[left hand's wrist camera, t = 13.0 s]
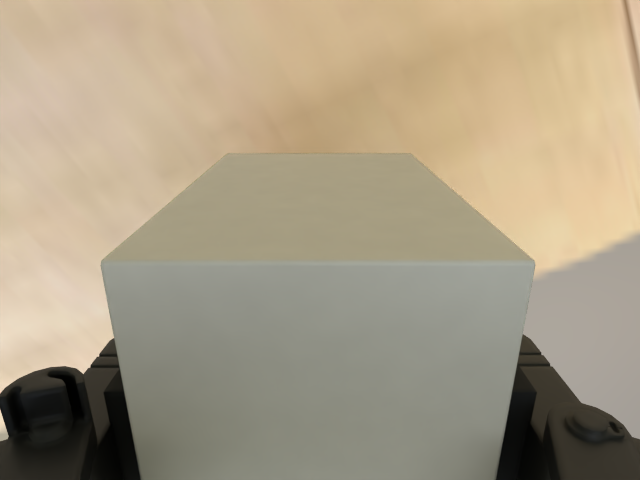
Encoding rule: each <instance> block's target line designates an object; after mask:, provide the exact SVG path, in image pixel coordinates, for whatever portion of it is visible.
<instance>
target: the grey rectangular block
mask: <svg viewBox="0 0 640 480" xmlns="http://www.w3.org/2000/svg"><path fill="white" fill-rule="evenodd" d="M534 269H535V262H534V260H533V259H532V258H531V257H530V256H529V255H527V254H526V253H525V252H524V251H523V250H522V249H520V248H519V247H518V246H517V245H516V244H515V243H514V242H512V241H511V240H510V239H509V238H508V237H507V236H505V235H504V234H503V233H502V232H501V231H500V230H499V229H497V228H496V227H495V226H494V225H493V224H492V223H490V222H489V221H488V220H487V219H486V218H485V217H484V216H482V215H481V214H480V213H479V212H478V211H477V210H475V209H474V208H473V207H472V206H471V205H470V204H469V203H467V202H466V201H465V200H464V199H463V198H462V197H460V196H459V195H458V194H457V193H456V192H455V191H454V190H452V189H451V188H450V187H449V186H448V185H447V184H445V183H444V182H443V181H442V180H441V179H440V178H439V177H437V176H436V175H435V174H434V173H433V172H432V171H430V170H429V169H428V168H427V167H426V166H425V165H424V164H422V163H421V162H420V161H419V160H418V159H417V158H415V157H414V156H413V155H412V154H410V153H228V154H226V155H225V156H224V157H223V158H222V159H220V160H219V161H218V162H217V163H216V164H214V165H213V166H212V167H211V168H210V169H209V170H207V171H206V172H205V173H204V174H203V175H202V176H200V177H199V178H198V179H197V180H196V181H194V182H193V183H192V184H191V185H190V186H189V187H187V188H186V189H185V190H184V191H183V192H182V193H180V194H179V195H178V196H177V197H176V198H174V199H173V200H172V201H171V202H170V203H169V204H167V205H166V206H165V207H164V208H163V209H162V210H160V211H159V212H158V213H157V214H156V215H155V216H153V217H152V218H151V219H150V220H149V221H147V222H146V223H145V224H144V225H143V226H142V227H140V228H139V229H138V230H137V231H136V232H135V233H133V234H132V235H131V236H130V237H129V238H127V239H126V240H125V241H124V242H123V243H122V244H120V245H119V246H118V247H117V248H116V249H115V250H113V251H112V252H111V253H110V254H109V255H107V256H106V257H105V258H104V259H103V260H102V261H101V270H102V275H103V281H104V286H105V291H106V297H107V302H108V307H109V313H110V318H111V323H112V329H113V334H114V339H115V345H116V350H117V355H118V361H119V366H120V371H121V377H122V382H123V387H124V393H125V398H126V403H127V409H128V414H129V419H130V425H131V430H132V435H133V441H134V446H135V451H136V457H137V462H138V467H139V473H140V478H141V480H496V476H497V471H498V465H499V460H500V454H501V449H502V443H503V438H504V433H505V427H506V422H507V416H508V411H509V405H510V400H511V394H512V389H513V384H514V378H515V373H516V367H517V362H518V356H519V351H520V346H521V340H522V335H523V329H524V324H525V318H526V313H527V307H528V302H529V296H530V291H531V286H532V280H533V275H534Z"/></svg>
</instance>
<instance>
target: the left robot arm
mask: <svg viewBox="0 0 640 480" xmlns="http://www.w3.org/2000/svg"><path fill="white" fill-rule="evenodd" d="M0 410H1V413H2V416H3V419H4V422H5V426H6V429H7V432H8V435H9V437H8V439H7V440H4V441H0V480H141V478H140V473H139V467H138V462H137V457H136V451H135V446H134V441H133V435H132V430H131V425H130V419H129V414H128V409H127V403H126V398H125V393H124V387H123V382H122V377H121V371H120V366H119V361H118V355H117V350H116V345H115V339H114V338H113V339H112V340H110V341H109V343H108V344H107V345H106V346H105V348H104V349H103V350H102V352H101V353H100V354H99V357H97V358H96V359H95V360H94V362H93V363H92V364H91V367H90V368H88V369H87V371H86V372H85V373H84V374H82V373H81V372H80V371H79V370H77V369H76V368H71V367H66V366H63V367H50V368H46V369H42V370H38V371H35V372H32V373H30V374H28V375H25V376H23V377H21V378H19V379H17V380H16V381H14V382H13V383H11V384H10V385H9V386H7V387H6V388H5V389H4V390H3V391H2V392H1V394H0ZM496 480H640V439H637V438H633V437H631V435H630V434H629V432H628V431H627V429H626V428H625V426H624V425H623V424H622V423H620V422H619V421H618V420H616V419H615V418H614V417H613V416H612V415H610V414H608V413H606V412H604V411H602V410H600V409H598V408H596V407H593V406H589V405H586V404H582V403H581V402H580V401H579V400H578V398H577V397H576V396H575V395H574V393H573V392H572V391H571V390H570V388H569V387H568V386H567V384H566V383H565V382H564V381H563V380H562V378H561V377H560V376H559V374H558V373H557V372H556V371H555V369H554V368H553V367H550V363H549V362H548V361H547V359H546V358H545V357H544V356H543V355H541V352H540V350H539V349H538V348H537V347H536V345H535V344H534V343H533V342H532V341H531V339H529V338H528V337H526V336H525V335H522V340H521V346H520V351H519V356H518V362H517V367H516V373H515V378H514V384H513V389H512V394H511V400H510V405H509V411H508V416H507V422H506V427H505V433H504V438H503V443H502V449H501V454H500V460H499V465H498V471H497V476H496Z"/></svg>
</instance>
